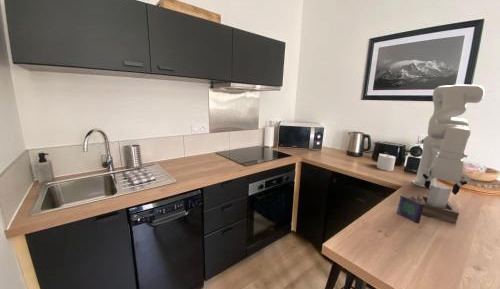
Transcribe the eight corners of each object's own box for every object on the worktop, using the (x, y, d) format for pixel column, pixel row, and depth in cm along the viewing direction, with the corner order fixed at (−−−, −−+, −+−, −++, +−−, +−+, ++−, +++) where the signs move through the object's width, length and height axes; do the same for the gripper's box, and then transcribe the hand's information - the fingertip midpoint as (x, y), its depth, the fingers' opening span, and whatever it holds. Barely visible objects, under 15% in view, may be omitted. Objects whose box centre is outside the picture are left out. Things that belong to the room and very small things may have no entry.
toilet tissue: (389, 172, 152) (392, 158, 150) (372, 167, 162) (374, 154, 159) (395, 169, 158) (398, 156, 156) (378, 164, 168) (380, 152, 166)
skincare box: (435, 208, 100) (442, 184, 98) (444, 213, 96) (452, 189, 93) (423, 208, 100) (430, 184, 97) (432, 213, 95) (439, 188, 93)
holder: (415, 203, 106) (417, 194, 105) (446, 210, 100) (448, 201, 99) (421, 215, 95) (423, 205, 94) (455, 223, 90) (459, 213, 89)
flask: (395, 212, 96) (400, 191, 94) (399, 211, 97) (404, 190, 95) (417, 224, 88) (423, 201, 86) (421, 222, 89) (427, 200, 87)
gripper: (473, 156, 91) (461, 192, 95) (423, 150, 98) (414, 183, 103) (481, 161, 84) (469, 199, 89) (427, 153, 92) (418, 189, 96)
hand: (440, 190), depth 96 cm, fingers open, 9 cm apart
